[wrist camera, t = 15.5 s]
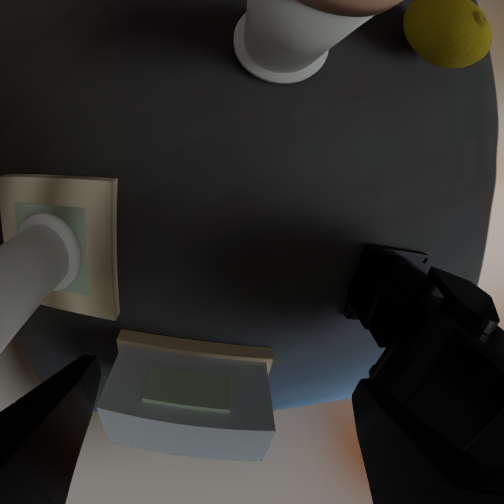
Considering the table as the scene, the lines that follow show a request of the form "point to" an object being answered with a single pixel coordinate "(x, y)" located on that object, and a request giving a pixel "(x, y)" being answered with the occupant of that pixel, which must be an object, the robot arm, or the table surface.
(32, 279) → the knob
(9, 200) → the pad
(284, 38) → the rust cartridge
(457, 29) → the lemon
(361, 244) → the table surface
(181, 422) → the block
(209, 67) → the table surface
